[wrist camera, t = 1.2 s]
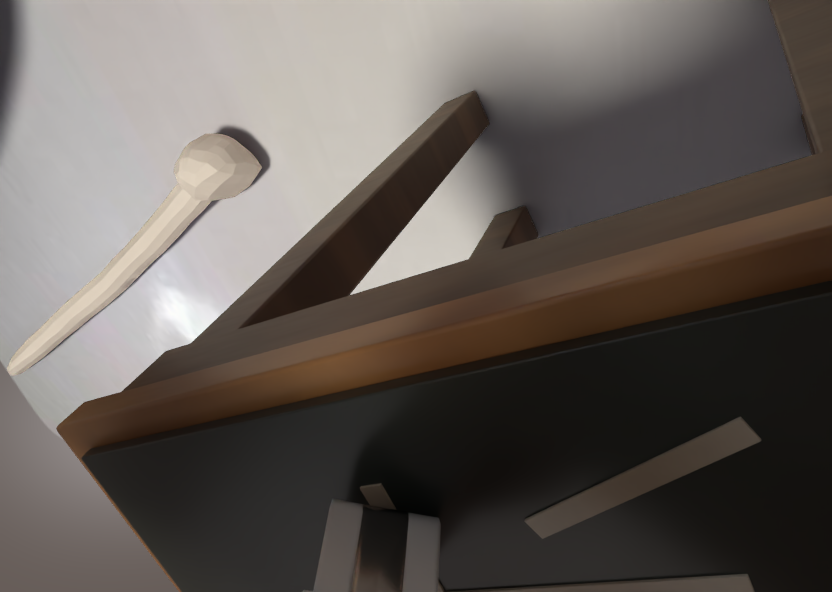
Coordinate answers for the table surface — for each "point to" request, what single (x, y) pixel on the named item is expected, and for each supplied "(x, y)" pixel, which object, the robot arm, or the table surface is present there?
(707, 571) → the chalkboard
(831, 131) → the stool
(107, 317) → the table surface
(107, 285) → the white bone
